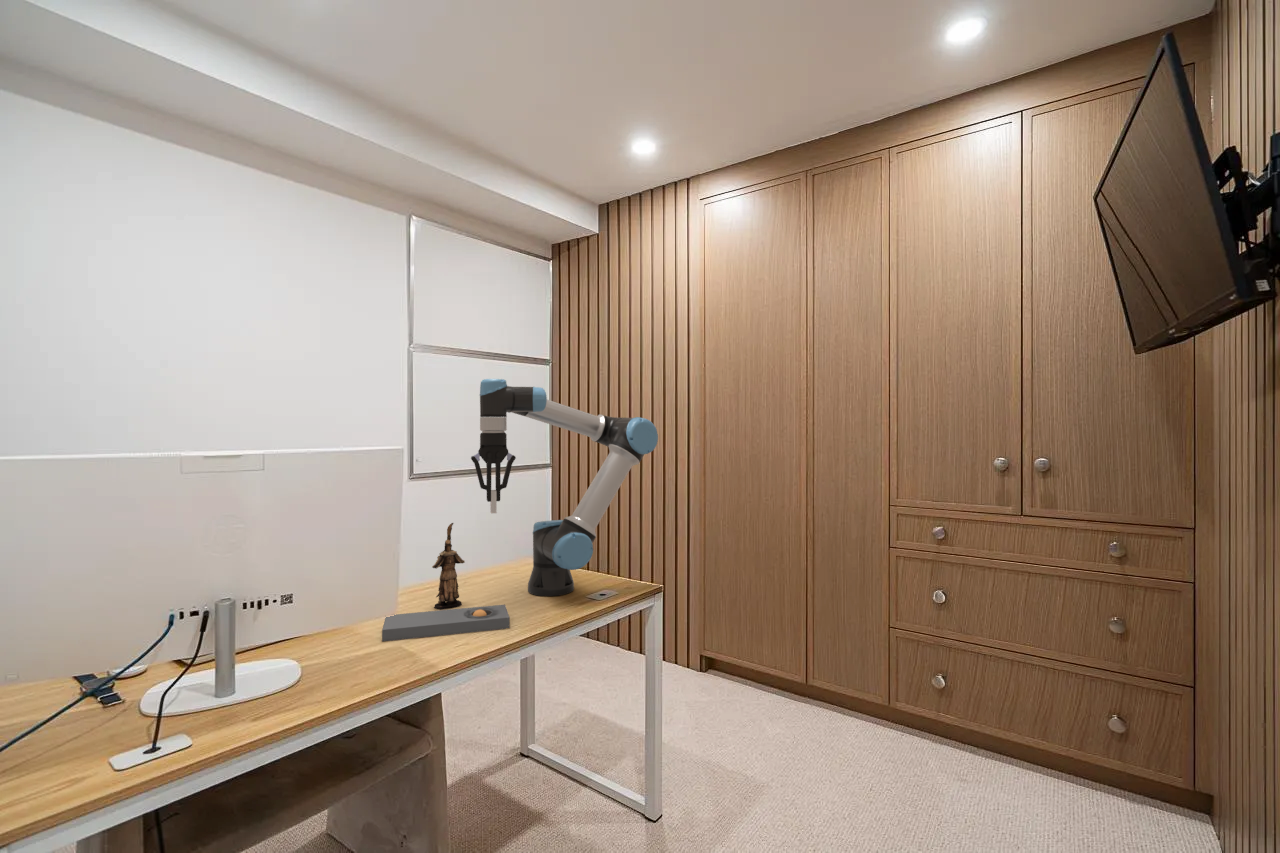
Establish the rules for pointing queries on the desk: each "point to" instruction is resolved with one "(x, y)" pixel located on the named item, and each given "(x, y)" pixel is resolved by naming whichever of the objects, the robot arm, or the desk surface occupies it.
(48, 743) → the desk surface
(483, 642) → the desk surface
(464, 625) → the block
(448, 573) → the figurine
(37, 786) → the desk surface
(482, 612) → the ball
